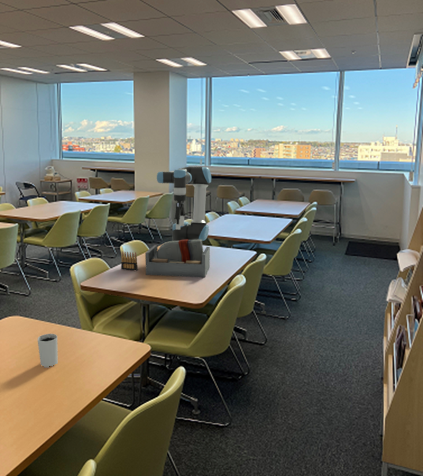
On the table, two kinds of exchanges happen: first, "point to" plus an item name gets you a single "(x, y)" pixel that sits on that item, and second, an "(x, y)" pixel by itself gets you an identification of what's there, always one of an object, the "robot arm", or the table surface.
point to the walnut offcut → (160, 260)
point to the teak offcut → (194, 262)
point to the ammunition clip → (129, 261)
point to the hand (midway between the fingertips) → (180, 227)
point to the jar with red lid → (181, 251)
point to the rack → (176, 265)
